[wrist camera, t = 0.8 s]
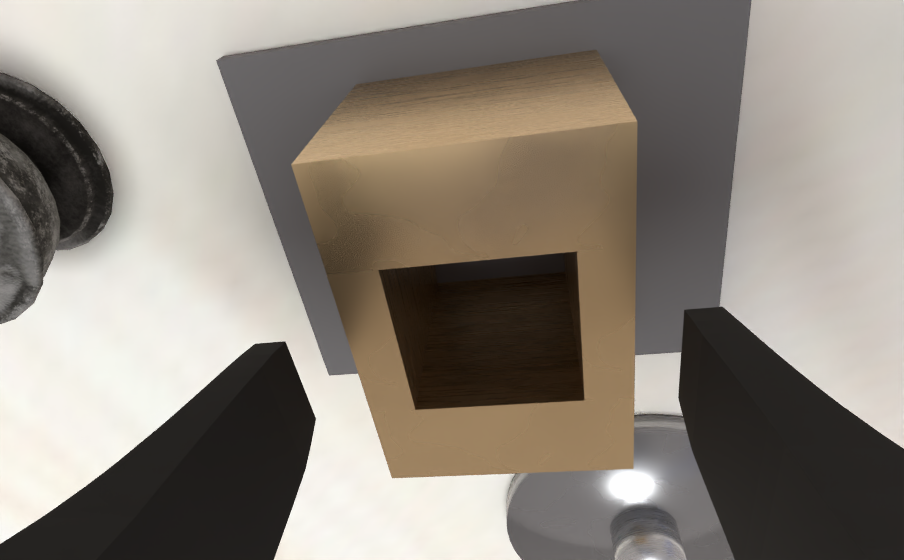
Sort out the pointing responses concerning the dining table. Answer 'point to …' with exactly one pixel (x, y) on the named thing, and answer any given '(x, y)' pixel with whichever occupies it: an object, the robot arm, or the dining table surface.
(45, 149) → the stepped metal shaft
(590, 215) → the wooden cubby box
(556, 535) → the hub
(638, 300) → the mat
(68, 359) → the dining table surface
